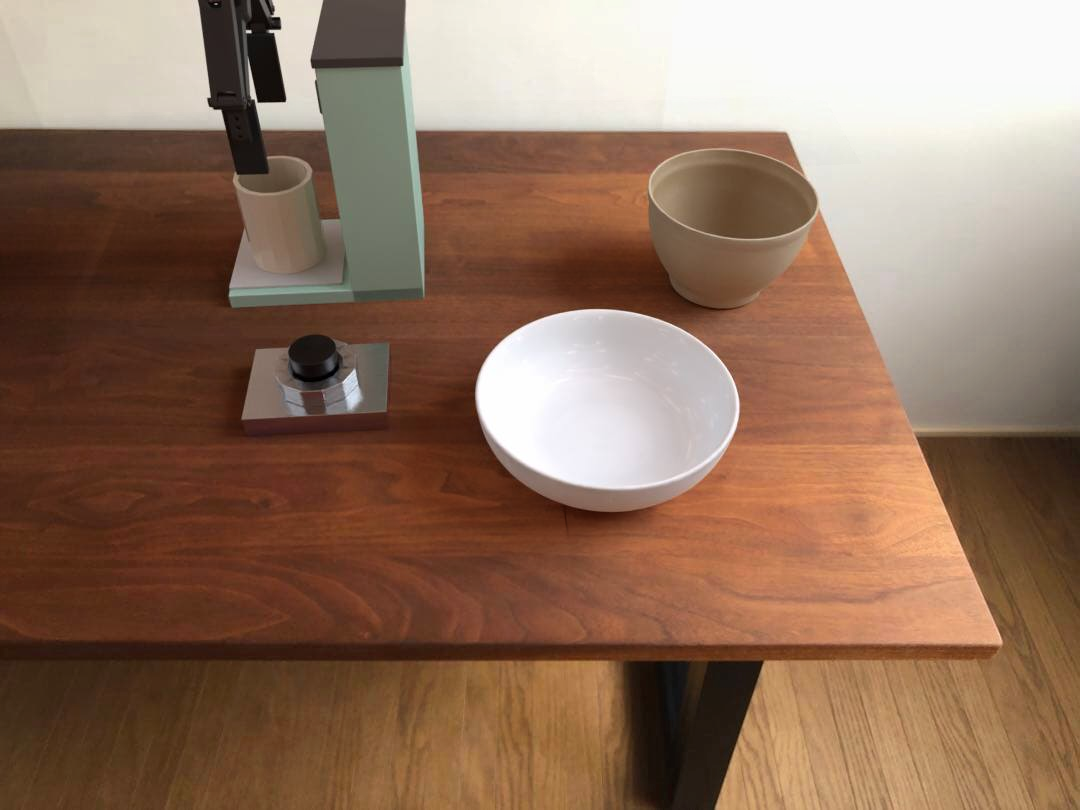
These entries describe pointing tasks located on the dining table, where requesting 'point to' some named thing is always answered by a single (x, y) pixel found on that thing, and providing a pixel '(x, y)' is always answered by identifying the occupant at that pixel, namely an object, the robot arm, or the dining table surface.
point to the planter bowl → (727, 222)
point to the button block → (319, 393)
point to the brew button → (313, 358)
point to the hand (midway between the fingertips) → (263, 135)
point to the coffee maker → (358, 168)
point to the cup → (282, 216)
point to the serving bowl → (606, 408)
